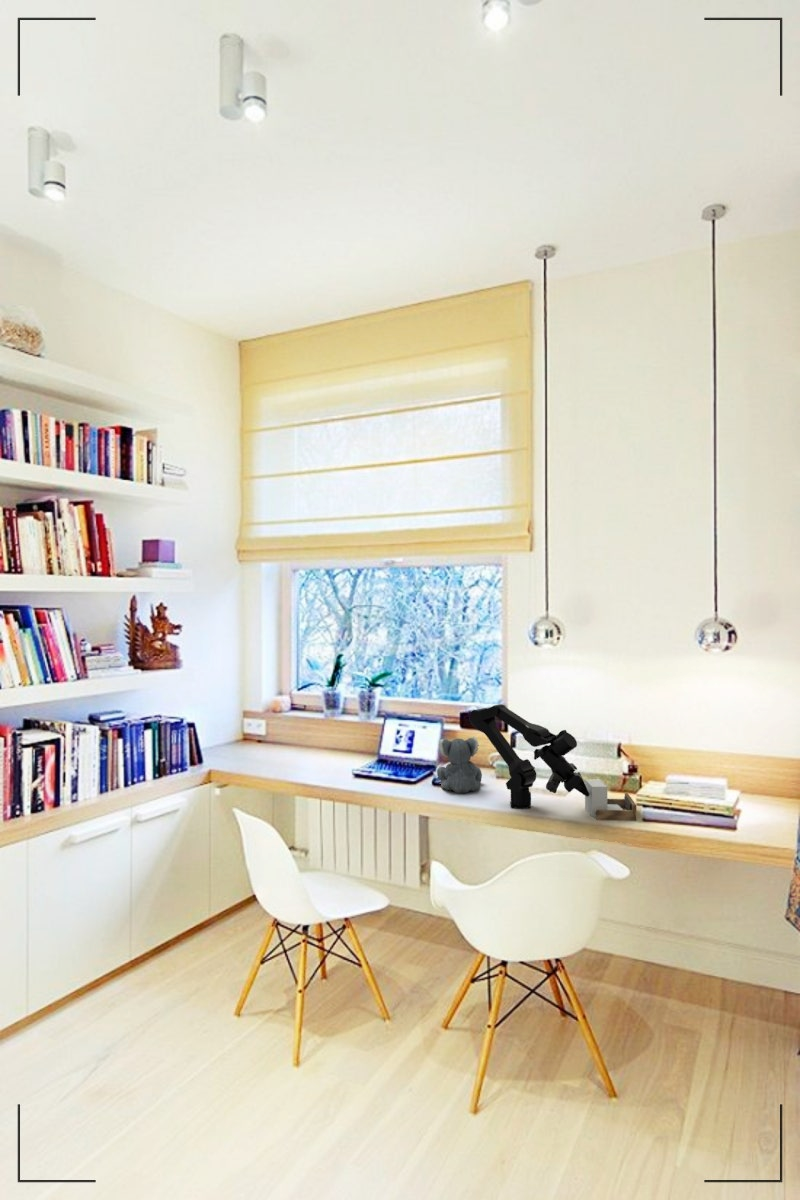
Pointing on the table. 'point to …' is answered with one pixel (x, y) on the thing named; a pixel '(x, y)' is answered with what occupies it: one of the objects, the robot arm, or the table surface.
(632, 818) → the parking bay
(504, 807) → the table surface
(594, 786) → the grey block with dot
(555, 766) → the robot arm
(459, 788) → the koala plush
